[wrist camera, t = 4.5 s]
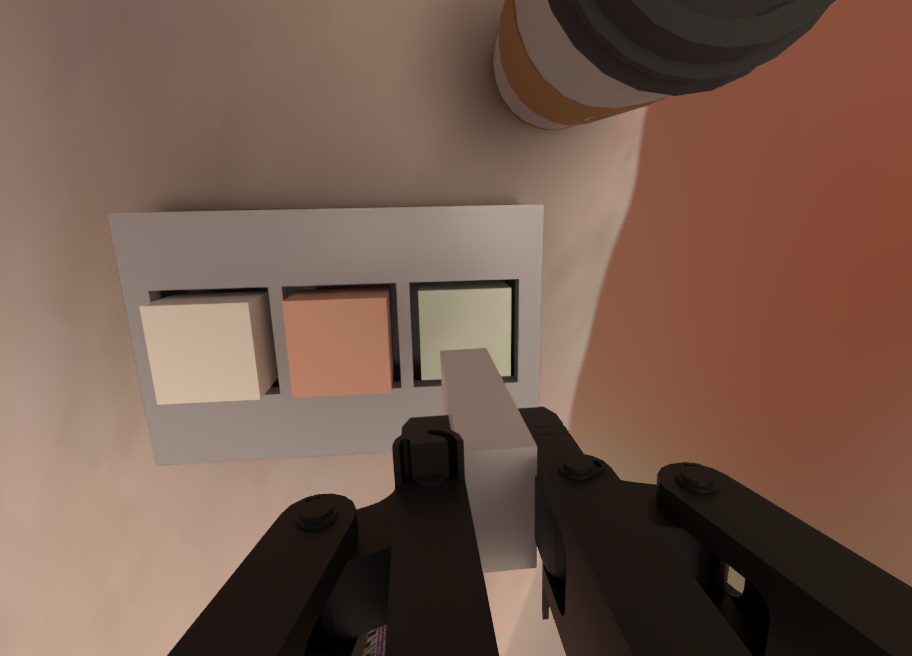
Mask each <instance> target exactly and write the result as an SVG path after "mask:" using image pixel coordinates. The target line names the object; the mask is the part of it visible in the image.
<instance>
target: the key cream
mask: <svg viewBox="0 0 912 656" xmlns="http://www.w3.org/2000/svg"><path fill="white" fill-rule="evenodd" d="M139 308H140V314H141V319H142V324H143V330H144V335H145V341H146V346H147V352H148V357H149V362H150V368H151V373H152V379H153V384H154V390H155V395H156V401H157V405H162V404H182V403H202V402H222V401H242V400H260V399H261V398H262V397H263V396H264V395H265V393H266V392H267V391H268V390H269V388H270V387H271V386H272V385H273V383H274V382H275V381H276V380H277V379H278V370H277V361H276V353H275V344H274V335H273V327H272V318H271V310H270V301H269V292H268V291H254V292H223V293H193V294H173V295H170V296H167V297H165V298H162V299H159V300H156V301H153V302H150V303H147V304H144V305H142V306H139Z"/></svg>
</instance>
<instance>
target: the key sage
mask: <svg viewBox="0 0 912 656" xmlns="http://www.w3.org/2000/svg"><path fill="white" fill-rule="evenodd" d="M418 305H419V330H420V355H421V378H422V380H437V379H441V361H440V351H443V350H460V349H476V348H487V350H488V352H489V354H490V356H491V358H492V360H493V362H494V364H495V366H496V368H497V370H498V372H499V374H500V375H501V376H511V287H509V286H508V285H507V284H506V283H504V282H503V281H502V280H471V281H440V282H418Z"/></svg>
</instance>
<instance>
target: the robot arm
mask: <svg viewBox="0 0 912 656" xmlns="http://www.w3.org/2000/svg"><path fill="white" fill-rule="evenodd" d="M440 361H441V382H442V403H443V415H440V416H425V417H411V418H410V419H409V420H408V421H407V422H406V423H405V424H404V425H403V426H402V434H401V435H400V436H399V437H397V438H396V439H395V441H394V443H393V445H392V451H393V464H394V476H395V490H394V492H393V493H392V494H390V495H389V496H388V497H387V498H385V499H383V500H382V501H380V502H378V503H375V504H373V505H370V506H367V507H364V508H360V509H357V510H356V508H355V505H354V503H353V501H351V500H350V499H348V498H347V497H345V496H342V495H337V494H318V495H314V496H310V497H307V498H304V499H302V500H300V501H298V502H296V503H294V504H292V505H290V506H289V507H288V508H287V509H286V510H285V511H284V512H283V513H281V515H280V516H279V517H278V518H277V520H276V521H275V522H274V523H273V525H272V526H271V527H270V528H269V530H268V531H267V532H266V533H265V534H264V536H263V537H262V538H261V539H260V541H259V542H258V543H257V544H256V546H255V547H254V548H253V549H252V551H251V552H250V553H249V554H248V556H247V557H246V558H245V559H244V561H243V562H242V563H241V564H240V566H239V567H238V568H237V569H236V571H235V572H234V573H233V574H232V576H231V577H230V578H229V579H228V581H227V582H226V583H225V584H224V586H223V587H222V588H221V589H220V590H219V592H218V593H217V594H216V595H215V597H214V598H213V599H212V600H211V602H210V603H209V604H208V605H207V607H206V608H205V609H204V610H203V612H202V613H201V614H200V615H199V617H198V618H197V619H196V620H195V622H194V623H193V624H192V625H191V627H190V628H189V629H188V630H187V632H186V633H185V634H184V635H183V637H182V638H181V639H180V640H179V641H178V643H177V644H176V645H175V646H174V648H173V649H172V650H171V651H170V653H169V654H168V655H167V656H362V655H363V653H364V650H365V647H366V645H367V639H368V633H369V632H370V631H372V630H374V629H377V628H379V627H382V626H384V625H387V627H386V643H385V656H499V653H498V648H497V643H496V637H495V632H494V627H493V622H492V617H491V612H490V606H489V601H488V596H487V591H486V586H485V581H484V575H483V573H485V572H495V571H505V570H516V569H526V568H536V566H537V547H538V550H539V553H540V556H541V558H542V561H543V573H542V574H543V575H542V578H543V579H542V614H543V619H548V618H549V607H550V609H551V612H552V614H553V617H554V620H555V623H556V626H557V629H558V632H559V635H560V638H561V641H562V644H563V647H564V650H565V653H566V656H912V587H911V586H909V585H907V584H905V583H904V582H902V581H901V580H899V579H897V578H896V577H894V576H892V575H891V574H889V573H887V572H886V571H884V570H882V569H881V568H879V567H878V566H876V565H874V564H872V563H871V562H869V561H868V560H866V559H864V558H863V557H861V556H859V555H858V554H856V553H854V552H853V551H851V550H849V549H848V548H846V547H844V546H843V545H841V544H839V543H838V542H836V541H834V540H833V539H831V538H830V537H828V536H826V535H825V534H823V533H821V532H820V531H818V530H816V529H815V528H813V527H811V526H810V525H808V524H806V523H805V522H803V521H801V520H800V519H798V518H797V517H795V516H793V515H792V514H790V513H788V512H787V511H785V510H783V509H782V508H780V507H778V506H777V505H775V504H773V503H772V502H770V501H768V500H767V499H765V498H763V497H762V496H760V495H759V494H757V493H755V492H754V491H752V490H750V489H749V488H747V487H745V486H743V485H742V484H740V483H739V482H737V481H735V480H734V479H732V478H730V477H729V476H727V475H725V474H723V473H721V472H719V471H717V470H715V469H713V468H709V467H706V466H702V465H700V464H697V463H688V462H682V463H675V464H669V465H667V466H664V467H662V468H661V469H660V471H659V472H658V474H657V485H654V484H646V483H636V482H629V481H623V480H620V479H619V477H618V476H617V475H616V473H615V472H614V471H613V470H612V468H611V467H610V466H609V465H608V464H606V463H605V462H604V461H603V460H600V459H598V458H596V457H594V456H590V455H585V454H583V452H582V451H581V449H580V448H579V446H578V445H577V443H576V442H575V440H574V439H573V438H572V436H571V435H570V434H569V432H568V430H567V429H566V427H565V426H563V423H562V422H561V420H560V419H559V417H558V416H557V414H555V413H553V412H552V411H550V410H548V409H546V408H545V407H532V408H517V406H516V404H515V403H514V401H513V399H512V397H511V395H510V393H509V391H508V389H507V387H506V385H505V383H504V381H503V379H502V377H501V375H500V374H499V372H498V370H497V368H496V366H495V364H494V362H493V360H492V358H491V356H490V354H489V352H488V350H487V348H476V349H460V350H443V351H440ZM729 566H731V567H732V568H733V569H734V570H735V571H737V572H738V573H739V574H740V575H742V576H743V577H744V578H745V586H744V591H743V593H740V592H739V591H737V590H735V589H734V588H733V587H732V586H731V585H729V584H728V583H727V579H728V571H729Z"/></svg>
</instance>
